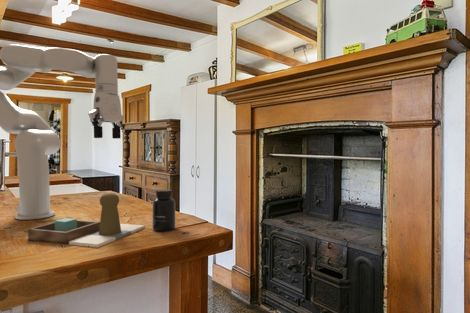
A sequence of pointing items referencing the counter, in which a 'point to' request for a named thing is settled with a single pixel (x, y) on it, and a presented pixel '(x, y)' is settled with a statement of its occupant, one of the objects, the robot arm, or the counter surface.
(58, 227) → the teal cube
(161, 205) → the supplement bottle
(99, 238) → the board
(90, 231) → the dice tray
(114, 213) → the cork
